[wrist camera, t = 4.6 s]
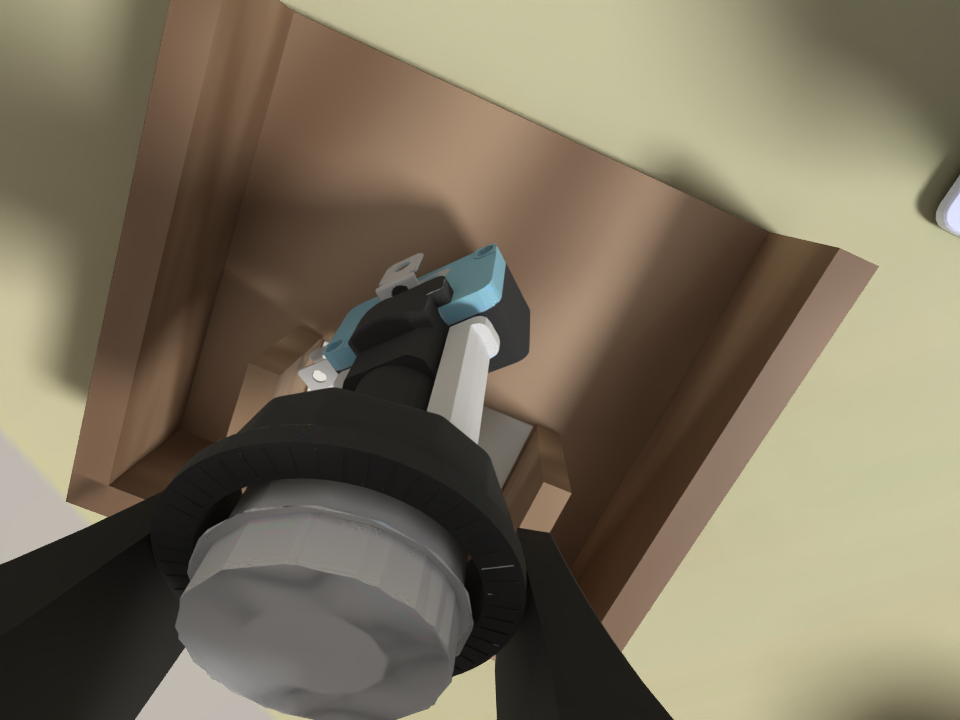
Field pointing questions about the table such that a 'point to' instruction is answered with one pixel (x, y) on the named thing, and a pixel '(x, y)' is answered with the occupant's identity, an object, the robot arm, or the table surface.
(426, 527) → the push button
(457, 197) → the walled box
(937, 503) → the table surface
